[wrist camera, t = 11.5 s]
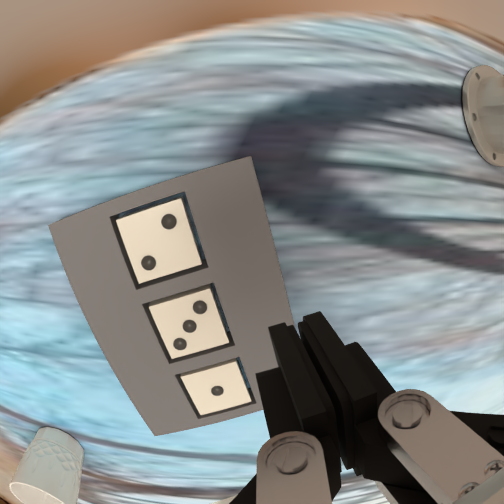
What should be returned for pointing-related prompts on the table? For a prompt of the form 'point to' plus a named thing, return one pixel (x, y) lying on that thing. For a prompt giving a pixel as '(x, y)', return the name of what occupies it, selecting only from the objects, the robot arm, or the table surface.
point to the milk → (225, 501)
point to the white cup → (49, 469)
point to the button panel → (211, 270)
